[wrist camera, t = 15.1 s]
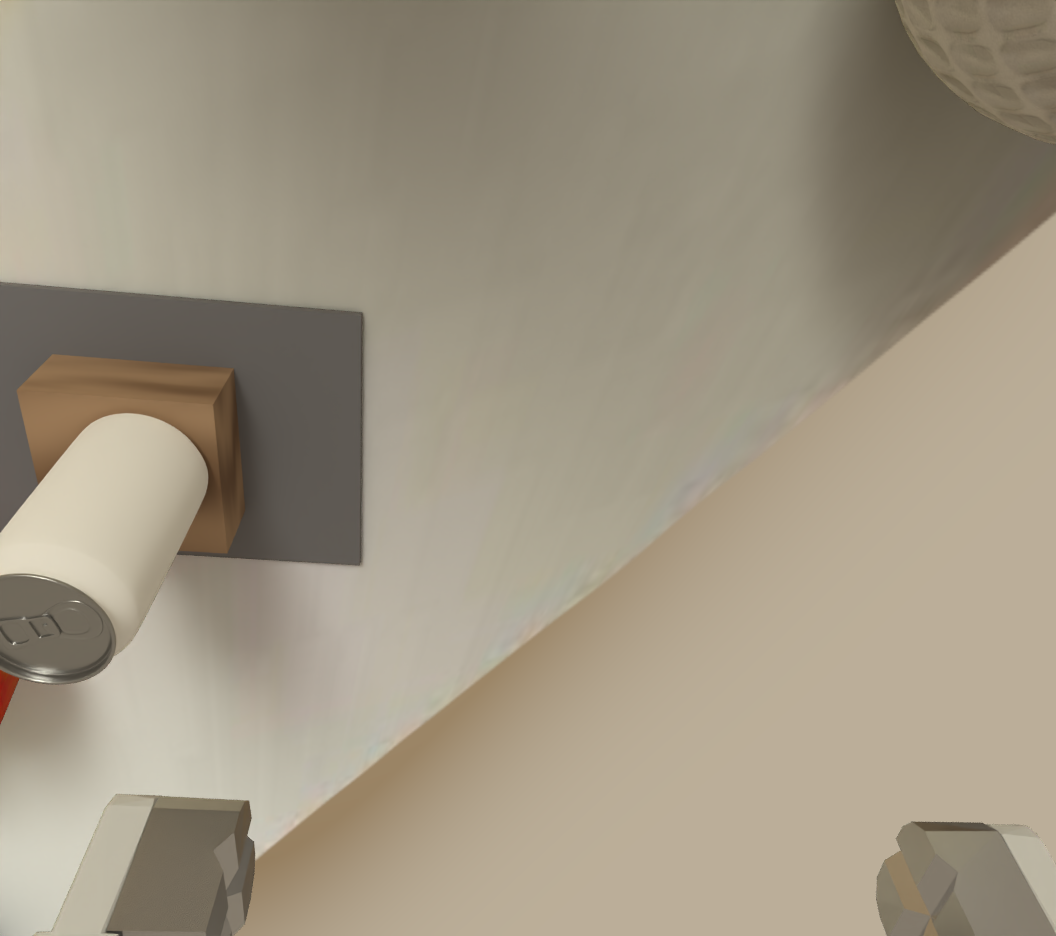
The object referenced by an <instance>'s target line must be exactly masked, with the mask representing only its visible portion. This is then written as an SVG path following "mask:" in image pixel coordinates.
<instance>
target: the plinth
mask: <svg viewBox="0 0 1056 936" xmlns="http://www.w3.org/2000/svg"><path fill="white" fill-rule="evenodd" d="M16 391H17V395H18V399H19V404H20V408H21V412H22V417H23V421H24V425H25V430H26V434H27V438H28V443H29V447H30V452H31V456H32V460H33V465H34V469H35V473H36V478H37V482H38V485H39V484H40V482H41V481H42V480H43V479H44V477H45V476H46V475H47V474H48V472H49V471H50V470H51V469H52V467H53V466H54V465H55V464H56V462H57V461H58V460H59V459H60V457H61V456H62V455H63V454H64V452H65V451H66V450H67V449H68V448H69V446H70V445H71V444H72V443H73V441H74V440H75V439H76V438H77V437H78V436H79V434H80V433H81V432H82V431H83V430H84V429H85V428H86V427H87V426H88V425H90V424H91V423H93V422H94V421H96V420H98V419H100V418H102V417H105V416H109V415H113V414H121V413H133V414H141V415H146V416H150V417H153V418H156V419H159V420H161V421H164V422H166V423H168V424H170V425H171V426H173V427H175V428H176V429H178V430H179V431H181V432H182V433H183V434H184V435H185V436H186V437H188V439H189V440H190V441H191V442H192V443H193V444H194V445H195V447H196V448H197V449H198V451H199V452H200V454H201V455H202V457H203V459H204V461H205V464H206V466H207V470H208V486H207V490H206V493H205V496H204V499H203V501H202V503H201V505H200V507H199V509H198V511H197V514H196V516H195V518H194V520H193V522H192V524H191V526H190V528H189V530H188V532H187V534H186V536H185V538H184V540H183V542H182V544H181V546H180V548H179V550H178V551H192V552H209V553H226V554H227V553H228V551H229V548H230V546H231V544H232V541H233V539H234V536H235V534H236V532H237V529H238V527H239V524H240V522H241V519H242V517H243V515H244V512H245V502H244V489H243V477H242V465H241V452H240V440H239V427H238V415H237V403H236V390H235V378H234V368H223V367H210V366H197V365H185V364H172V363H159V362H146V361H133V360H120V359H107V358H94V357H82V356H69V355H56V354H52V355H51V356H50V357H49V358H48V359H47V360H46V361H45V362H44V363H43V364H42V365H41V366H40V367H39V368H38V369H37V370H36V371H35V372H34V373H33V374H32V375H31V376H30V377H29V378H28V379H27V380H26V381H25V382H24V383H23V384H22V385H21V386H20V387H19V388H18V389H17V390H16Z"/></svg>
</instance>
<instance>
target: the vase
mask: <svg viewBox="0 0 1056 936" xmlns="http://www.w3.org/2000/svg"><path fill="white" fill-rule="evenodd" d="M895 3H896V6H897V9H898V12H899V15H900V17H901V20H902V23H903V26H904V29H905V30H906V32H907V34H908V36H909V38H910V39H911V41H912V43H913V45H914V47H915V48H916V50H917V52H918V54H919V56H920V57H921V58H922V59H923V60H924V62H925V63H926V64H927V65H928V66H929V67H930V69H931V70H932V71H933V72H934V73H935V75H936V76H937V77H938V78H939V79H940V80H941V81H942V82H943V83H944V84H945V85H946V86H947V87H948V88H949V89H950V90H952V91H953V92H954V93H955V94H956V95H957V96H958V97H960V98H961V99H962V100H963V101H965V102H966V103H967V104H969V105H970V106H971V107H972V108H974V109H975V110H976V111H977V112H979V113H980V114H982V115H984V116H986V117H988V118H990V119H992V120H994V121H996V122H998V123H1000V124H1002V125H1004V126H1006V127H1008V128H1010V129H1012V130H1015V131H1017V132H1020V133H1022V134H1024V135H1027V136H1029V137H1031V138H1034V139H1036V140H1040V141H1044V142H1047V143H1051V144H1055V145H1056V0H895Z"/></svg>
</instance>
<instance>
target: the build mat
mask: <svg viewBox="0 0 1056 936" xmlns="http://www.w3.org/2000/svg"><path fill="white" fill-rule="evenodd" d="M52 354H56V355H69V356H82V357H94V358H107V359H120V360H133V361H146V362H159V363H172V364H185V365H197V366H210V367H223V368H234V378H235V390H236V403H237V415H238V427H239V440H240V452H241V465H242V477H243V489H244V502H245V512H244V515H243V517H242V519H241V522H240V524H239V527H238V529H237V532H236V534H235V536H234V539H233V541H232V544H231V546H230V548H229V551H228V553H227V554H226V553H209V552H192V551H178V552H177V555H194V556H211V557H228V558H245V559H262V560H279V561H296V562H312V563H329V564H346V565H360V562H361V398H362V313H360V312H348V311H336V310H325V309H313V308H301V307H289V306H277V305H265V304H253V303H241V302H230V301H218V300H206V299H194V298H182V297H170V296H158V295H146V294H135V293H123V292H111V291H99V290H87V289H75V288H63V287H51V286H40V285H28V284H16V283H4V282H0V533H1V531H2V530H3V529H4V528H5V526H6V525H7V524H8V523H9V521H10V520H11V519H12V517H13V516H14V515H15V514H16V512H17V511H18V510H19V509H20V507H21V506H22V505H23V504H24V502H25V501H26V500H27V499H28V497H29V496H30V495H31V494H32V492H33V491H34V490H35V489H36V487H37V486H38V482H37V478H36V473H35V469H34V465H33V460H32V456H31V452H30V447H29V443H28V438H27V434H26V430H25V425H24V421H23V417H22V412H21V408H20V404H19V399H18V395H17V391H16V390H17V389H18V388H19V387H20V386H21V385H22V384H23V383H24V382H25V381H26V380H27V379H28V378H29V377H30V376H31V375H32V374H33V373H34V372H35V371H36V370H37V369H38V368H39V367H40V366H41V365H42V364H43V363H44V362H45V361H46V360H47V359H48V358H49V357H50V356H51V355H52Z"/></svg>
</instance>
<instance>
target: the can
mask: <svg viewBox="0 0 1056 936" xmlns="http://www.w3.org/2000/svg"><path fill="white" fill-rule="evenodd" d="M207 486H208V470H207V466H206V464H205V461H204V459H203V457H202V455H201V454H200V452H199V451H198V449H197V448H196V447H195V445H194V444H193V443H192V442H191V441H190V440H189V439H188V437H186V436H185V435H184V434H183V433H182V432H181V431H179V430H178V429H176V428H175V427H173V426H171V425H170V424H168V423H166V422H164V421H161V420H159V419H156V418H153V417H150V416H146V415H141V414H133V413H121V414H113V415H109V416H105V417H102V418H100V419H98V420H96V421H94V422H93V423H91V424H90V425H88V426H87V427H86V428H85V429H84V430H83V431H82V432H81V433H80V434H79V436H78V437H77V438H76V439H75V440H74V441H73V443H72V444H71V445H70V446H69V448H68V449H67V450H66V451H65V452H64V454H63V455H62V456H61V457H60V459H59V460H58V461H57V462H56V464H55V465H54V466H53V467H52V469H51V470H50V471H49V472H48V474H47V475H46V476H45V477H44V479H43V480H42V481H41V482H40V484H39V485H38V486H37V487H36V489H35V490H34V491H33V492H32V494H31V495H30V496H29V497H28V499H27V500H26V501H25V502H24V504H23V505H22V506H21V507H20V509H19V510H18V511H17V512H16V514H15V515H14V516H13V517H12V519H11V520H10V521H9V523H8V524H7V525H6V526H5V528H4V529H3V530H2V531H1V533H0V670H2V671H4V672H6V673H8V674H10V675H12V676H15V677H18V678H21V679H24V680H27V681H31V682H36V683H42V684H71V683H76V682H80V681H84V680H87V679H89V678H91V677H93V676H95V675H97V674H98V673H100V672H101V671H102V670H103V669H105V668H106V667H107V665H108V664H109V663H110V661H111V660H112V658H113V657H114V656H115V655H117V654H118V653H119V652H121V651H122V650H123V649H124V648H126V647H127V646H128V645H129V643H130V642H131V641H132V639H133V638H134V637H135V635H136V633H137V632H138V630H139V628H140V626H141V624H142V623H143V621H144V619H145V617H146V615H147V613H148V611H149V609H150V607H151V605H152V603H153V601H154V599H155V597H156V595H157V593H158V591H159V589H160V587H161V585H162V583H163V581H164V579H165V577H166V575H167V573H168V571H169V569H170V567H171V565H172V563H173V561H174V559H175V557H176V554H177V552H178V550H179V548H180V546H181V544H182V542H183V540H184V538H185V536H186V534H187V532H188V530H189V528H190V526H191V524H192V522H193V520H194V518H195V516H196V514H197V511H198V509H199V507H200V505H201V503H202V501H203V499H204V496H205V493H206V490H207Z"/></svg>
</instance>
